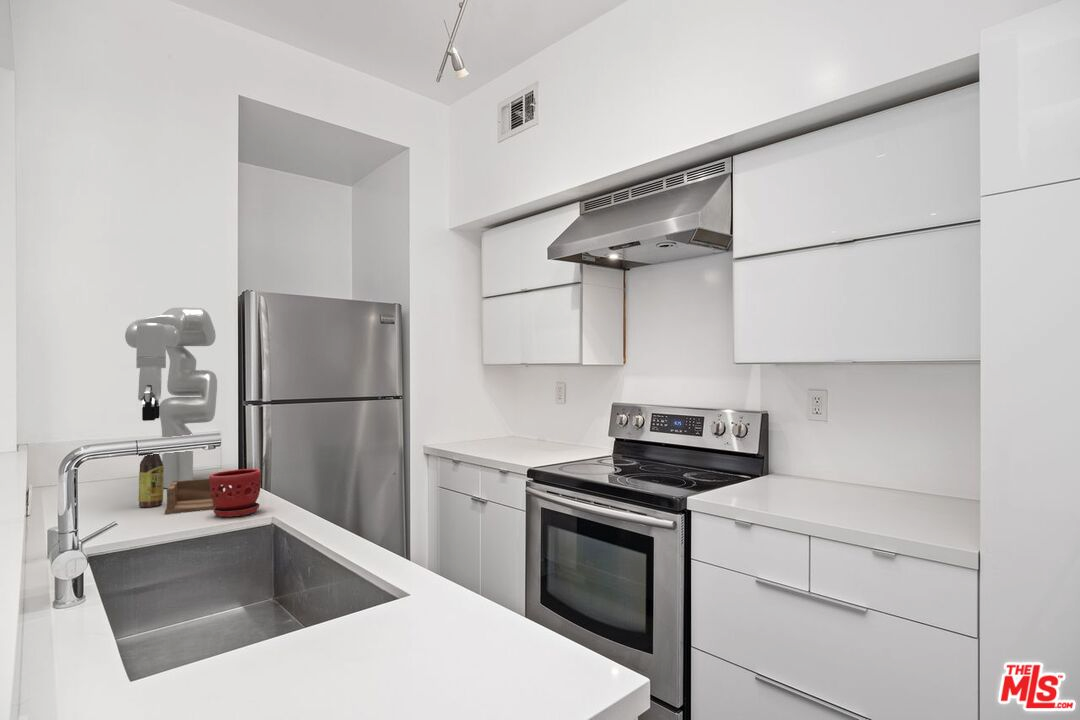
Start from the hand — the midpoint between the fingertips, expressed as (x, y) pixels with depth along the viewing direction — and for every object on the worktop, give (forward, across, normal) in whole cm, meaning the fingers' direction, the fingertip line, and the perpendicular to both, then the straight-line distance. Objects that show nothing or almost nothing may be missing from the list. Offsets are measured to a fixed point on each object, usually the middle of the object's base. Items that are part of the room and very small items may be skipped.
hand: (151, 419), depth 178 cm
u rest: (+26, +7, +12) cm, 30 cm away
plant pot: (+27, +23, +23) cm, 42 cm away
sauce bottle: (+26, -1, 0) cm, 27 cm away
